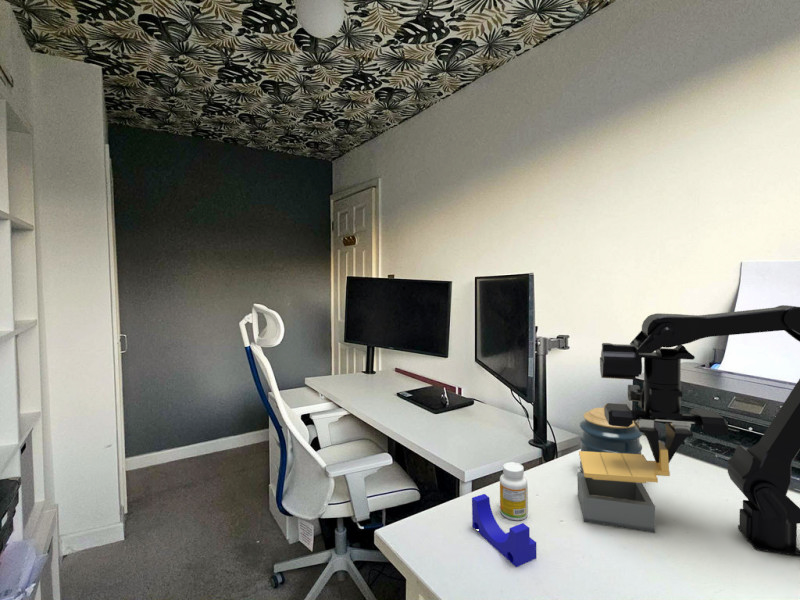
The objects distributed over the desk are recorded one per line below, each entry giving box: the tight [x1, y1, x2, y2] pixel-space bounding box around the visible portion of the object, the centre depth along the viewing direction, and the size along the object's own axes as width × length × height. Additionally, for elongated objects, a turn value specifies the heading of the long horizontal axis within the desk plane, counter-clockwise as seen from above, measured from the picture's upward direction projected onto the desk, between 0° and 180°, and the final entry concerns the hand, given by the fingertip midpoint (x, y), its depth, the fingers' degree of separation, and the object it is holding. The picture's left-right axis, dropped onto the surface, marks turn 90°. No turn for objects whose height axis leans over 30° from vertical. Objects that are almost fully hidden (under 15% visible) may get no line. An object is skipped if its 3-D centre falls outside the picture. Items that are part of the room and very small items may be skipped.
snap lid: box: [578, 440, 671, 484], centre depth 77 cm, size 15×10×6 cm
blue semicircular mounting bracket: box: [471, 493, 538, 568], centre depth 71 cm, size 12×4×6 cm, turn 26°
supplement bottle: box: [499, 461, 529, 521], centre depth 79 cm, size 5×5×10 cm
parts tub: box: [577, 472, 656, 534], centre depth 79 cm, size 12×10×5 cm
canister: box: [579, 403, 643, 473], centre depth 93 cm, size 13×13×18 cm
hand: (661, 462), depth 74 cm, fingers closed on snap lid
